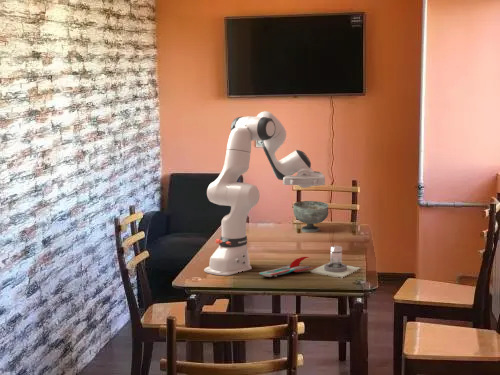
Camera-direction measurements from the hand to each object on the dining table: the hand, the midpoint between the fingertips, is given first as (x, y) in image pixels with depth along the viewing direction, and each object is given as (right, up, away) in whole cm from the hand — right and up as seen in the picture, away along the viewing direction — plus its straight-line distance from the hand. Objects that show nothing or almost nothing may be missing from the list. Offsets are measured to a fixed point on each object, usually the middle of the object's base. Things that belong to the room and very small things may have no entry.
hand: (303, 183), depth 343 cm
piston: (+13, -38, -22) cm, 46 cm away
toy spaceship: (-10, -40, -25) cm, 48 cm away
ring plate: (+13, -39, -22) cm, 46 cm away
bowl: (+9, -26, +56) cm, 63 cm away
